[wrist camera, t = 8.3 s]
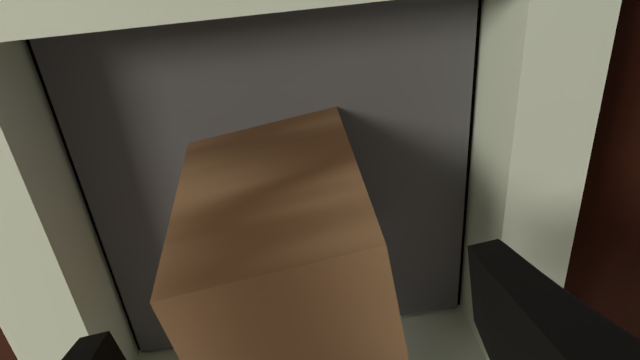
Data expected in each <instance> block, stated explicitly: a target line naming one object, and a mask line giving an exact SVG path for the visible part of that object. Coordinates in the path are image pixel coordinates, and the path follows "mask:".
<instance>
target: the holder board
mask: <svg viewBox="0 0 640 360" xmlns="http://www.w3.org/2000/svg"><path fill="white" fill-rule="evenodd" d="M621 2H622V0H482V3H481V16H480V30H479V44H478V58H477V72H476V86H475V99H474V113H473V127H472V141H471V155H470V169H469V182H468V196H467V210H466V224H465V238H464V251H463V265H462V279H461V293H460V305H457V303H458V288H459V274H460V259H461V245H462V231H463V216H464V202H465V187H466V173H467V159H468V144H469V130H470V115H471V101H472V86H473V72H474V58H475V43H476V29H477V14H478V0H0V327H1V329H2V331H3V333H4V335H5V336H6V338H7V340H8V342H9V344H10V346H11V348H12V350H13V351H14V353H15V355H16V357H17V359H18V360H62V358H63V357H64V356H65V355H66V353H67V352H68V351H69V350H70V348H71V347H72V346H73V345H74V344H75V343H76V341H77V340H78V339H79V338H81V337H85V336H89V335H93V334H98V333H102V332H106V331H110V333H111V334H112V336H113V338H114V339H115V341H116V343H117V344H118V346H119V348H120V349H121V351H122V353H123V354H124V356H125V358H126V359H127V360H180V359H179V358H178V356H177V354H176V352H175V350H174V348H173V346H172V344H171V342H170V341H169V339H168V337H167V335H166V333H165V331H164V329H163V327H162V325H161V324H160V322H159V320H158V318H157V316H156V314H155V312H154V310H153V308H152V306H151V305H150V300H151V295H152V291H153V287H154V283H155V279H156V275H157V271H158V266H159V262H160V258H161V254H162V250H163V246H164V241H165V237H166V233H167V229H168V225H169V221H170V216H171V212H172V208H173V204H174V200H175V196H176V192H177V187H178V183H179V179H180V175H181V171H182V167H183V162H184V158H185V154H186V150H187V146H188V143H192V142H196V141H200V140H204V139H208V138H212V137H216V136H220V135H224V134H228V133H232V132H236V131H240V130H244V129H248V128H252V127H256V126H260V125H264V124H268V123H272V122H276V121H280V120H284V119H288V118H292V117H296V116H300V115H304V114H308V113H312V112H316V111H320V110H324V109H328V108H332V107H336V106H337V109H338V112H339V115H340V118H341V120H342V123H343V126H344V129H345V131H346V134H347V137H348V140H349V143H350V145H351V148H352V151H353V154H354V156H355V159H356V162H357V165H358V168H359V170H360V173H361V176H362V179H363V181H364V184H365V187H366V190H367V192H368V195H369V198H370V201H371V204H372V206H373V209H374V212H375V215H376V217H377V220H378V223H379V226H380V229H381V231H382V234H383V237H384V240H385V242H386V245H387V250H388V256H389V261H390V266H391V271H392V276H393V281H394V286H395V291H396V296H397V302H398V307H399V312H400V317H401V322H402V327H403V332H404V337H405V343H406V348H407V353H408V358H409V360H490V359H489V357H488V354H487V352H486V350H485V347H484V345H483V342H482V340H481V337H480V335H479V332H478V329H477V327H476V324H475V322H474V317H473V306H472V294H471V283H470V271H469V260H468V249H467V246H469V245H473V244H478V243H482V242H486V241H490V240H495V239H499V240H501V241H503V242H504V243H505V244H507V245H508V246H509V247H510V248H512V249H513V250H514V251H515V252H517V253H518V254H519V255H520V256H522V257H523V258H524V259H526V260H527V261H528V262H529V263H531V264H532V265H533V266H535V267H536V268H537V269H538V270H540V271H541V272H542V273H544V274H545V275H546V276H548V277H549V278H550V279H552V280H553V281H554V282H556V283H557V284H558V285H560V286H561V287H562V288H564V284H565V279H566V274H567V269H568V264H569V259H570V255H571V250H572V245H573V240H574V235H575V230H576V225H577V220H578V215H579V210H580V205H581V200H582V195H583V190H584V185H585V180H586V175H587V170H588V166H589V161H590V156H591V151H592V146H593V141H594V136H595V131H596V126H597V121H598V116H599V111H600V106H601V101H602V96H603V91H604V86H605V82H606V77H607V72H608V67H609V62H610V57H611V52H612V47H613V42H614V37H615V32H616V27H617V22H618V17H619V12H620V7H621ZM26 39H29V41H30V44H31V47H32V50H33V52H34V55H35V58H36V61H37V64H38V66H39V69H40V72H41V75H42V77H43V80H44V83H45V86H46V88H47V91H48V94H49V97H50V100H51V102H52V105H53V108H54V111H55V113H56V116H57V119H58V122H59V125H60V127H61V130H62V133H63V136H64V138H65V141H66V144H67V147H68V150H69V152H70V155H71V158H72V161H73V163H74V166H75V169H76V172H77V175H78V177H79V180H80V183H81V186H82V188H83V191H84V194H85V197H86V200H87V202H88V205H89V208H90V211H91V213H92V216H93V219H94V222H95V225H96V227H97V230H98V233H99V236H100V238H101V241H102V244H103V247H104V250H105V252H106V255H107V258H108V261H109V263H110V266H111V269H112V272H113V275H114V277H115V280H116V283H117V286H118V288H119V291H120V294H121V297H122V299H123V302H124V305H125V308H126V311H127V313H128V316H129V319H130V322H131V324H132V327H133V330H134V333H135V336H136V338H137V341H138V344H139V347H140V350H138V347H137V345H136V342H135V339H134V336H133V334H132V331H131V328H130V325H129V323H128V320H127V317H126V314H125V312H124V309H123V306H122V303H121V300H120V298H119V295H118V292H117V289H116V287H115V284H114V281H113V278H112V276H111V273H110V270H109V267H108V265H107V262H106V259H105V256H104V254H103V251H102V248H101V245H100V243H99V240H98V237H97V234H96V232H95V229H94V226H93V223H92V221H91V218H90V215H89V212H88V210H87V207H86V204H85V201H84V199H83V196H82V193H81V190H80V188H79V185H78V182H77V179H76V177H75V174H74V171H73V168H72V166H71V163H70V160H69V157H68V155H67V152H66V149H65V146H64V144H63V141H62V138H61V135H60V133H59V130H58V127H57V124H56V122H55V119H54V116H53V113H52V111H51V108H50V105H49V102H48V100H47V97H46V94H45V91H44V88H43V86H42V83H41V80H40V77H39V75H38V72H37V69H36V66H35V64H34V61H33V58H32V55H31V53H30V50H29V47H28V44H27V42H26Z"/></svg>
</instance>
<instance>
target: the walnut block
mask: <svg viewBox="0 0 640 360" xmlns="http://www.w3.org/2000/svg"><path fill="white" fill-rule="evenodd" d="M150 305H151V306H152V308H153V310H154V312H155V314H156V316H157V318H158V320H159V322H160V324H161V325H162V327H163V329H164V331H165V333H166V335H167V337H168V339H169V341H170V342H171V344H172V346H173V348H174V350H175V352H176V354H177V356H178V358H179V359H180V360H409V358H408V353H407V348H406V343H405V337H404V332H403V327H402V322H401V317H400V312H399V307H398V302H397V296H396V291H395V286H394V281H393V276H392V271H391V266H390V261H389V256H388V250H387V245H386V242H385V240H384V237H383V234H382V231H381V229H380V226H379V223H378V220H377V217H376V215H375V212H374V209H373V206H372V204H371V201H370V198H369V195H368V192H367V190H366V187H365V184H364V181H363V179H362V176H361V173H360V170H359V168H358V165H357V162H356V159H355V156H354V154H353V151H352V148H351V145H350V143H349V140H348V137H347V134H346V131H345V129H344V126H343V123H342V120H341V118H340V115H339V112H338V109H337V106H336V107H332V108H328V109H324V110H320V111H316V112H312V113H308V114H304V115H300V116H296V117H292V118H288V119H284V120H280V121H276V122H272V123H268V124H264V125H260V126H256V127H252V128H248V129H244V130H240V131H236V132H232V133H228V134H224V135H220V136H216V137H212V138H208V139H204V140H200V141H196V142H192V143H188V146H187V150H186V154H185V158H184V162H183V167H182V171H181V175H180V179H179V183H178V187H177V192H176V196H175V200H174V204H173V208H172V212H171V216H170V221H169V225H168V229H167V233H166V237H165V241H164V246H163V250H162V254H161V258H160V262H159V266H158V271H157V275H156V279H155V283H154V287H153V291H152V295H151V300H150Z"/></svg>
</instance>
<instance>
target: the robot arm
mask: <svg viewBox="0 0 640 360" xmlns="http://www.w3.org/2000/svg"><path fill="white" fill-rule="evenodd" d="M467 249H468V260H469V271H470V283H471V294H472V306H473V317H474V322H475V324H476V327H477V329H478V332H479V335H480V337H481V340H482V342H483V345H484V347H485V350H486V352H487V354H488V357H489V359H490V360H640V340H639V339H638V338H636V337H634V336H633V335H631V334H630V333H628V332H627V331H625V330H623V329H622V328H620V327H619V326H617V325H616V324H614V323H613V322H611V321H610V320H608V319H607V318H605V317H604V316H602V315H601V314H599V313H598V312H596V311H595V310H593V309H592V308H591V307H589V306H588V305H586V304H585V303H583V302H582V301H581V300H579V299H578V298H576V297H575V296H574V295H572V294H571V293H569V292H568V291H566V290H565V289H564V288H562V287H561V286H560V285H558V284H557V283H556V282H554V281H553V280H552V279H550V278H549V277H548V276H546V275H545V274H544V273H542V272H541V271H540V270H538V269H537V268H536V267H535V266H533V265H532V264H531V263H529V262H528V261H527V260H526V259H524V258H523V257H522V256H520V255H519V254H518V253H517V252H515V251H514V250H513V249H512V248H510V247H509V246H508V245H507V244H505V243H504V242H503V241H501V240H499V239H495V240H490V241H486V242H482V243H478V244H473V245H469V246H467ZM62 360H127V359H126V358H125V356H124V354H123V353H122V351H121V349H120V348H119V346H118V344H117V343H116V341H115V339H114V338H113V336H112V334H111V333H110V331H106V332H102V333H98V334H93V335H89V336H85V337H81V338H79V339H78V340H77V341H76V343H75V344H74V345H73V346H72V347H71V348H70V350H69V351H68V352H67V353H66V355H65V356H64V357H63V358H62Z"/></svg>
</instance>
